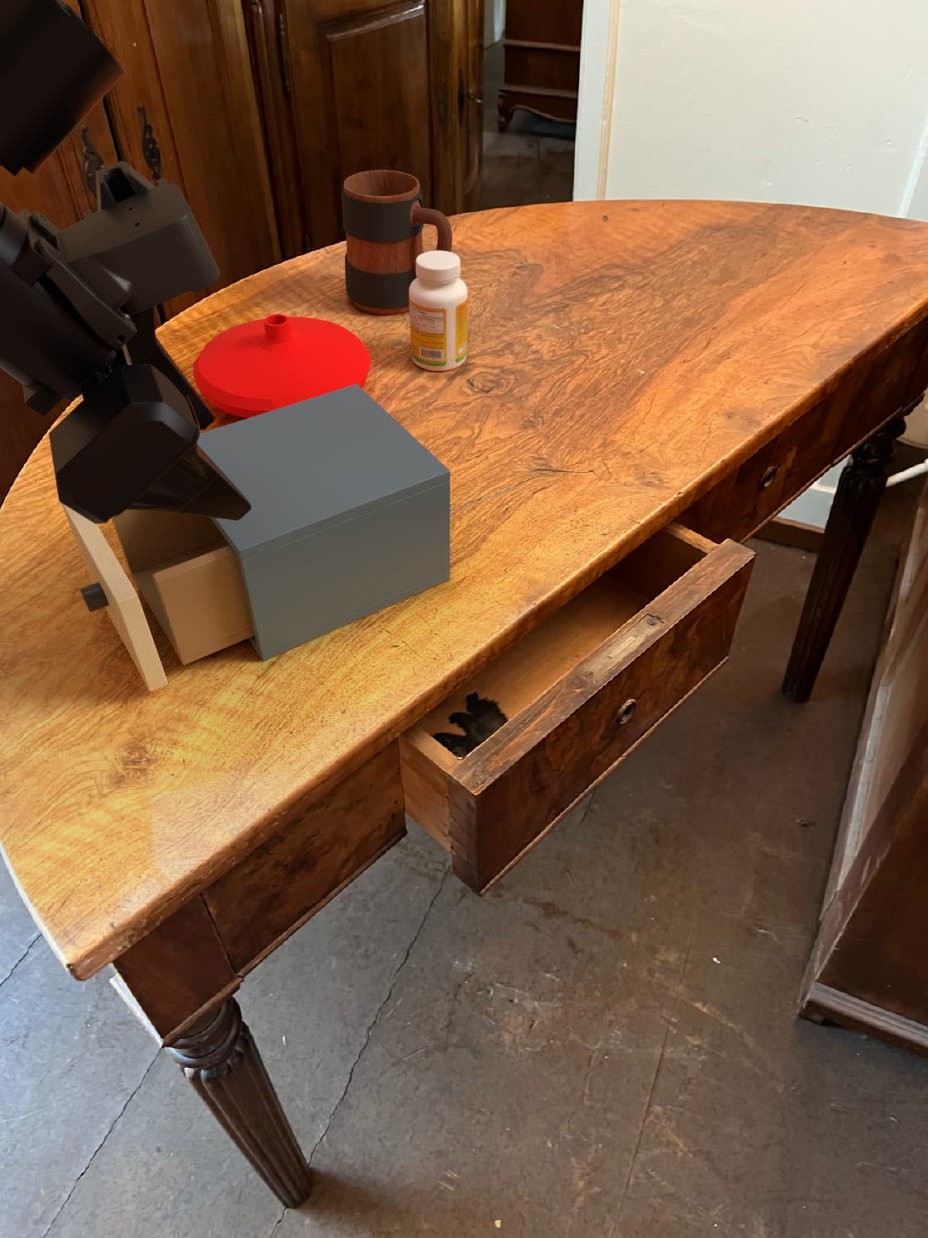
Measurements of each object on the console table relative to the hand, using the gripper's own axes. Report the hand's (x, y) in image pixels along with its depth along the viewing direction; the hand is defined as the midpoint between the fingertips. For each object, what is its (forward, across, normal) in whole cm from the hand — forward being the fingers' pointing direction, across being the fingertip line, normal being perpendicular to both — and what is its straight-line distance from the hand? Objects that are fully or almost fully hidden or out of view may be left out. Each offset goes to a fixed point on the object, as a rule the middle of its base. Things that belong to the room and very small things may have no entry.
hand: (226, 465), depth 49 cm
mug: (+26, +44, -13) cm, 53 cm away
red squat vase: (+17, +31, 0) cm, 35 cm away
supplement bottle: (+26, +31, -12) cm, 42 cm away
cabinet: (+15, +7, +4) cm, 17 cm away
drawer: (+10, +5, +10) cm, 15 cm away
